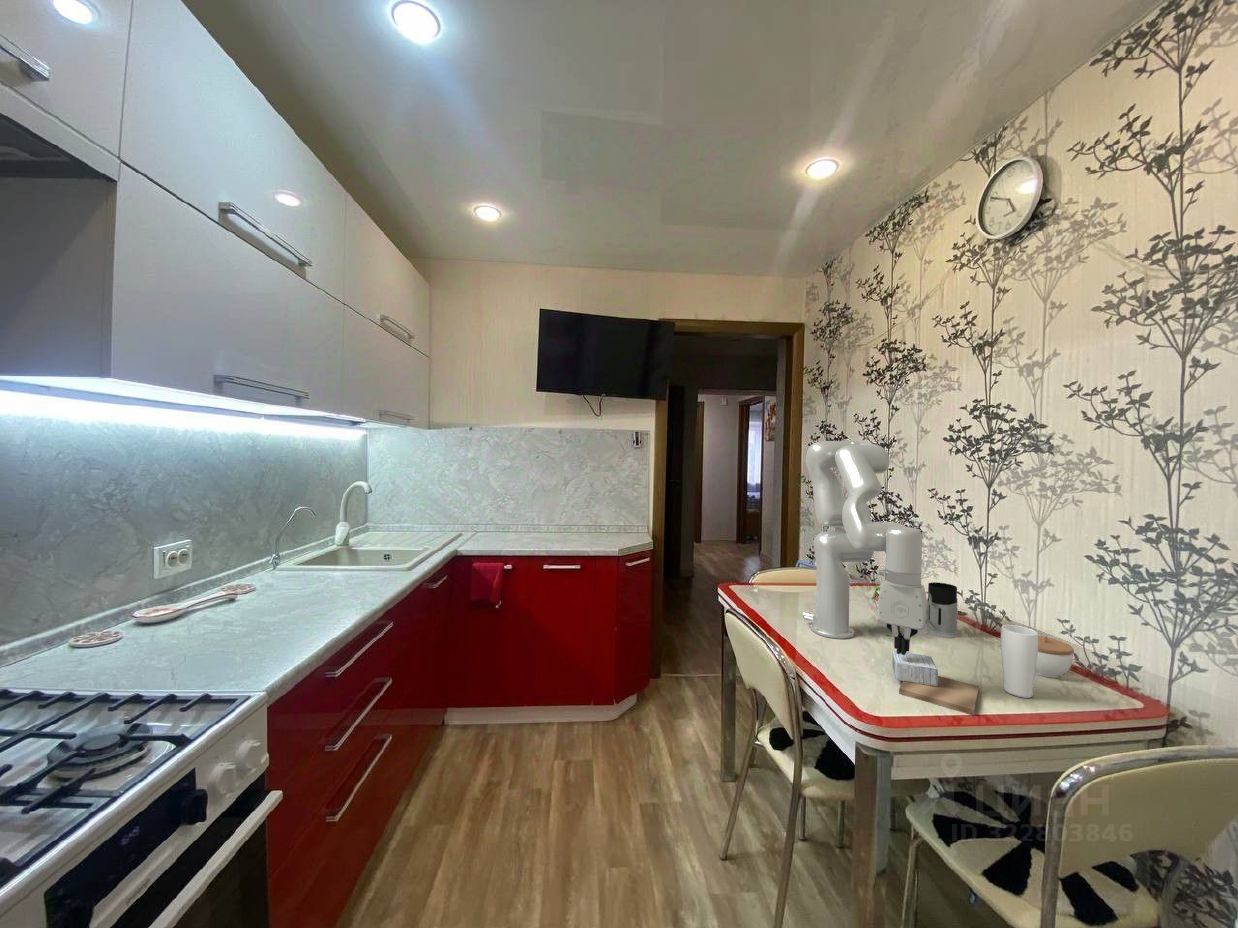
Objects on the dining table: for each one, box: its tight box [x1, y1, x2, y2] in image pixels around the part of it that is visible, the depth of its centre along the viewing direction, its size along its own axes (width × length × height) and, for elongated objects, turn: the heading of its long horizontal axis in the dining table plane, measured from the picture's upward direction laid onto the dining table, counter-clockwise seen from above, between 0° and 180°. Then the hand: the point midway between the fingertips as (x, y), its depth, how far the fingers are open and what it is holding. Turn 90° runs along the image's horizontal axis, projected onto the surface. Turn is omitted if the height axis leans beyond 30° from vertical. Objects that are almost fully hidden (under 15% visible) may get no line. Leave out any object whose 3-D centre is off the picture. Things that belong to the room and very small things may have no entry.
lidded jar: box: [1035, 635, 1074, 679], centre depth 122 cm, size 11×11×9 cm
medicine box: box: [891, 650, 939, 686], centre depth 117 cm, size 8×4×9 cm
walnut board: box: [898, 675, 980, 716], centre depth 111 cm, size 14×14×1 cm
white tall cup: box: [1000, 624, 1039, 699], centre depth 111 cm, size 7×7×15 cm
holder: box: [925, 581, 959, 639], centre depth 149 cm, size 9×14×15 cm, turn 113°
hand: (901, 652), depth 116 cm, fingers closed
